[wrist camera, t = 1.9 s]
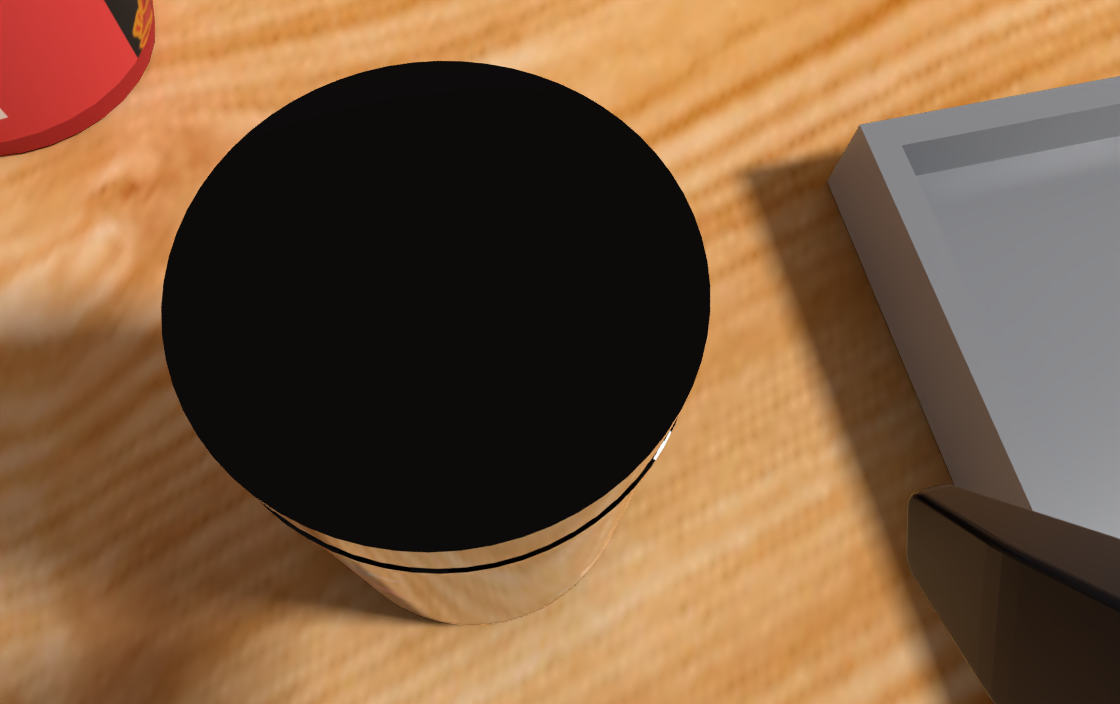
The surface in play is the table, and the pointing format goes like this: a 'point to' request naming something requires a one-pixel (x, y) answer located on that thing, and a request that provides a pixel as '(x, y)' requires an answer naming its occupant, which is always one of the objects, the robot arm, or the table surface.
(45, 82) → the canned food
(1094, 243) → the tray
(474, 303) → the supplement container
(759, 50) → the table surface
